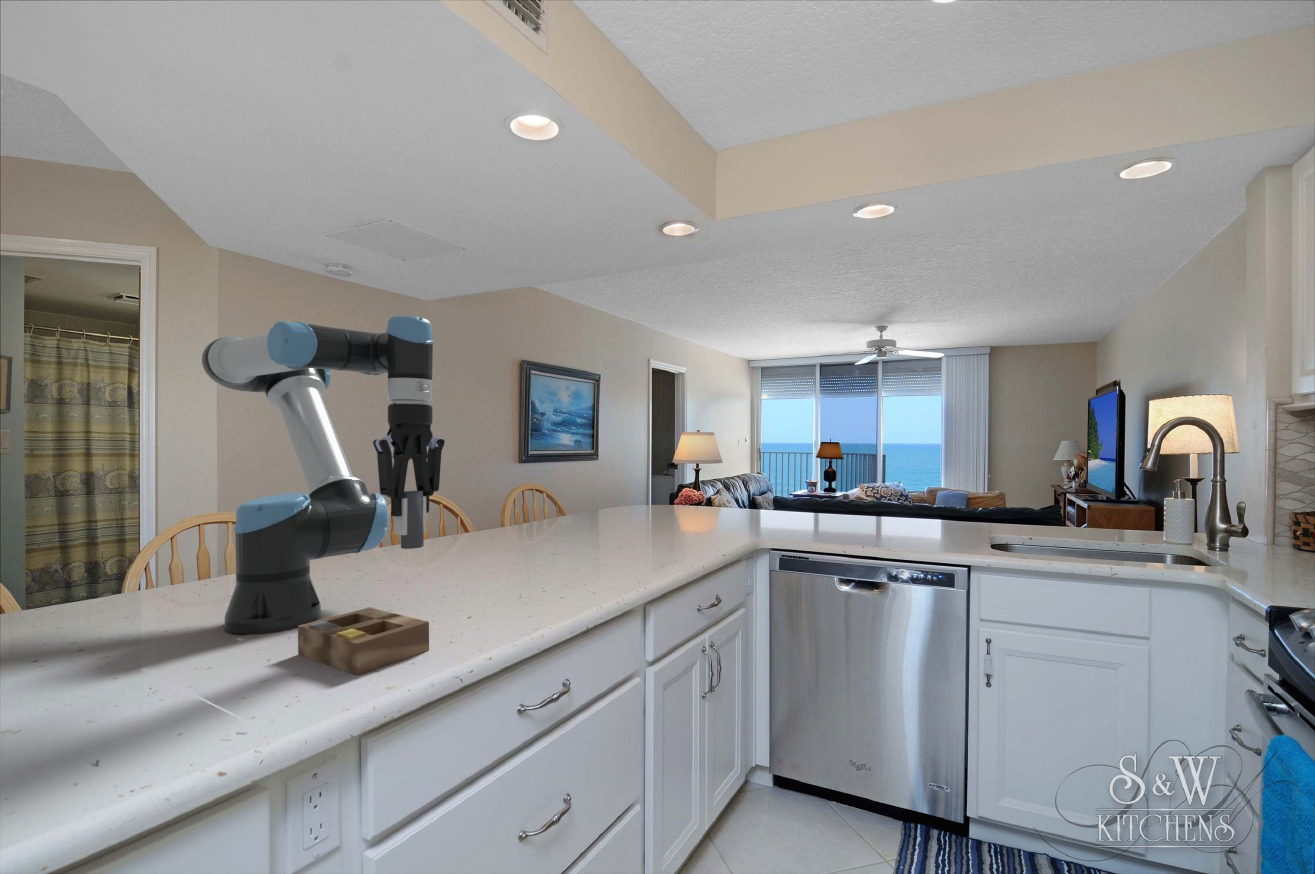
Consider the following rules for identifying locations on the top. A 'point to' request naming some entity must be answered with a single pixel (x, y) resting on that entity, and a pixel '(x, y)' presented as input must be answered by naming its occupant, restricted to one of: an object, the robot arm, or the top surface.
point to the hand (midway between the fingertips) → (410, 532)
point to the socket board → (363, 639)
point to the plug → (413, 521)
